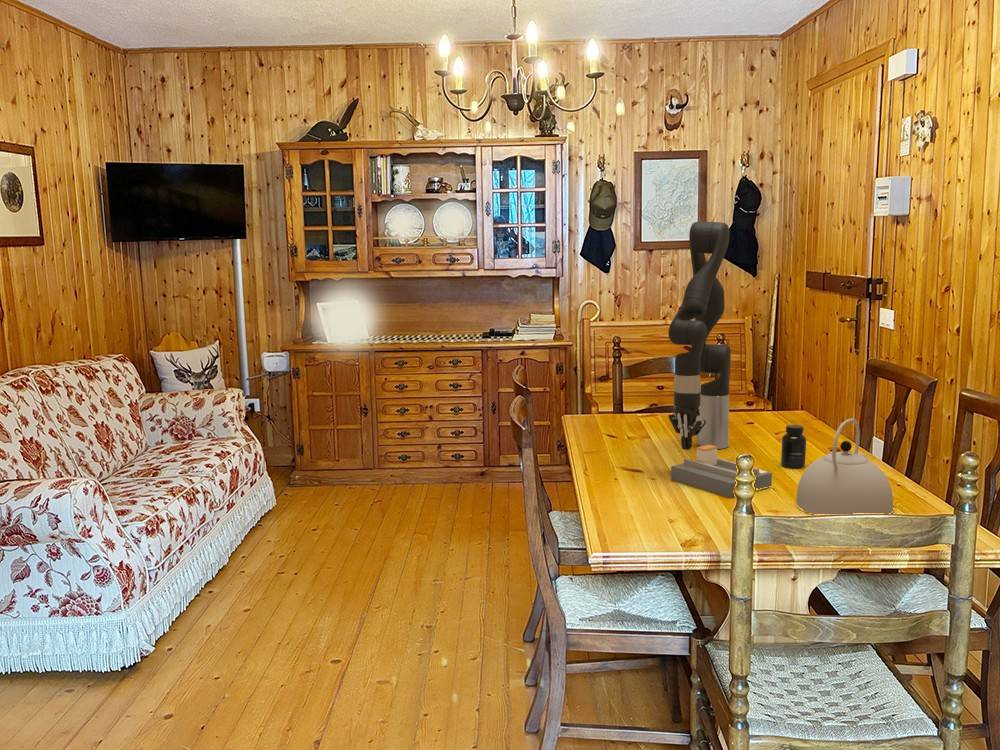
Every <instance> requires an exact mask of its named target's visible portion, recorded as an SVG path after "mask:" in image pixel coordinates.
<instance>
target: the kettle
mask: <svg viewBox="0 0 1000 750" xmlns="http://www.w3.org/2000/svg"><path fill="white" fill-rule="evenodd" d="M849 423H853V424H854V426H855V430H856V431H855V432H856V440H855V448H854V452H849V451H851V449H852V447H853V445H852V443H851V442H850V441H848V440H844V441H842V442H841V443H840V449H841V451H838V452H837V447H838V440H839V436H840V434H841V431H842V430H843V428H844V427H845V426H846V425H847V424H849ZM860 439H861V431H860V424H859V422H858V421H857V420H856V419H855V418H848V419H846V420H844V421H842V422H841V424H839V426H838V428H837V429H836V432H835V435H834V438H833V443H832V451H831V453H827V454H825V455H823V456H821V457H820V458H817V459H815V461H813V462H812V463H811V464H809V465H808V466H807V468H806V469H805V470H804V472H803V473H802V475H801V477H800V478H799V481H798V484H797V490H796V501H795V504H796V503H797V505H798V506H799V507H800V508H802V509H803V510H804V511H806V512H807V513H812V514H809V515H810V516H813V515H814V514H853V513H884V514H889V513H891V512H892V511H893V512H894V496H893V490H892V487H891V483H890V481H889V480H888V477H887V476H886V475H885V473H884V472H883V470H882V469H881V468H880V467H879V466H878V465H876V464H875V463H874V462H873V461H871V459H868V458H867V454H866V453H863V452H859V448H860ZM807 513H806V514H807Z"/></svg>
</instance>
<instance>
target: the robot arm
mask: <svg viewBox="0 0 1000 750" xmlns="http://www.w3.org/2000/svg"><path fill="white" fill-rule="evenodd" d="M730 234H731V233H730V228H729V225H728V224H727V223H726V222H721V221H720V222H719V221H695V222H693V223H692V224H691V226H690V228H689V234H688V235H689V236H688V237H689V238H688V241H689V242H688V243H689V252H690V259H691V267H692V278H691V279H690V280H689V281H688V283H687V285H686V288H685V290H684V293H683V294H684V295H683V299H682V303H681V306H680V307H679V309H678V311H677V313H676V314H675V316H674V317H673V319H672V321H671V323H670V325H669V327H668V331H667V332H668V338H669V341H670V342H671V344H674V345H679V346H690V348H689V349H690V350H689V351H687V352H681V353H678V354H676V356H675V357H674V378H673V379H674V380H673V406H674V412H673V413H672V414H669V415H668V416H667V417H668V420H669V422H670V423H671V425H672V427H673V429H674V431H675V433H676V434H679V435H680V437H681V441H680V446H681V449H682V450H685V451H688V450H691V449H692V447H693V437H695V436H696V445H698V447H701V446H705V445H713V446H717V450H718V449H719V450H721V449H722V450H723V449H726V448H728V447H729V435H730V434H729V425H730V423H729V422H730V421H729V420H730V373H731V372H730V371H731V360H732V359H731V358H732V357H731V354H732V353H731V348H730V346H729V345H728V344H719V343H717V344H712V343H711V344H710V343H709V344H708V343H706V342H707V340H708V338H709V336H710V333H711V332H712V331H713V329H714V328H715V326H716V325H717V324H718V322H719V321H720V319H721V318H722V316H723V315H724V311H725V309H726V308H725V289H724V287H723V285H722V283H721V281H720V279H718V278H717V275H718V273H719V270H720V268H721V265H722V263H723V261H724V259H725V256H726V253H727V249H728V248H729V242H730V237H731V236H730ZM706 254H707V255H709V254H711V255H710V257H709V258H708V261H707V257H706ZM701 373H705V374H718V377H717V378H715V379H713V380H711V381H708V382H704V383H702V381H701ZM701 383H702V384H701Z"/></svg>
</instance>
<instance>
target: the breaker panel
mask: <svg viewBox="0 0 1000 750" xmlns="http://www.w3.org/2000/svg"><path fill="white" fill-rule="evenodd" d="M735 463H736V462H735V461H730V460H726V459H722V458H719V457H717V465H709V464H705V463H702V462H698V461H697V459H690V458H683V462H682V463H679V464H673V465H671V466H670V481H674V482H677V483H681V484H683V485H687V486H689V487H694V488H696V489H697V488H698V489H700V490H702V491H707V492H709V493H713V494H716V495H719V496H722V497H726V498H729V499H735V497H734V493H733V490H734V487H735V484H736V481H735V476H736V474H737V468H736V464H735ZM753 472H754V475H755V477H756V480H755V483H754V487H755V490H756V488H758V489H760V488H764V487H769V486H772V484H773V481H772V480H773V479H772V478H773V472H770V471H766V470H764V469H763V470H762V469H760V468H757V467H754V469H753Z"/></svg>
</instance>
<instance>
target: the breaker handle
mask: <svg viewBox="0 0 1000 750" xmlns="http://www.w3.org/2000/svg"><path fill="white" fill-rule="evenodd" d="M717 458H718V449H717V446H713V445H705V446H698V447H696V460H697V461H698V462H702V463H705V464H709V465H717Z"/></svg>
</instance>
